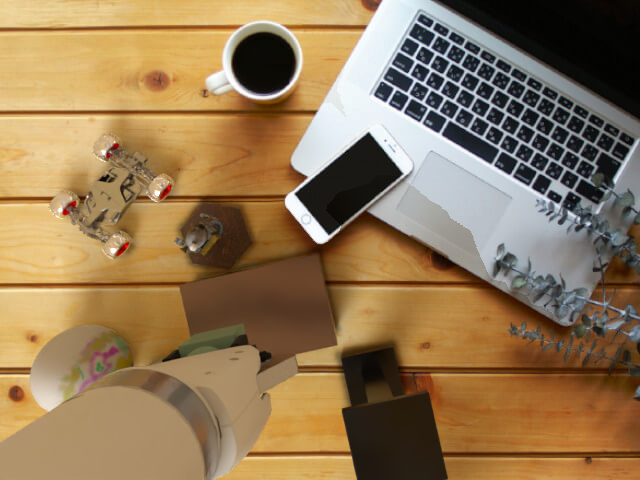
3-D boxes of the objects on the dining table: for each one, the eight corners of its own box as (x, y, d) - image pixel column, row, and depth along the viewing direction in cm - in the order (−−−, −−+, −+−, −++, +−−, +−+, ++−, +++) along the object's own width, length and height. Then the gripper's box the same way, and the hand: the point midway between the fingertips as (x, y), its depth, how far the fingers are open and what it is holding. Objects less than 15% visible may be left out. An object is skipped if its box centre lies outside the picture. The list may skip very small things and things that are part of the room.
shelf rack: (336, 329, 78) (337, 345, 67) (217, 356, 78) (198, 375, 67) (318, 252, 78) (317, 254, 67) (199, 278, 78) (178, 285, 67)
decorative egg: (132, 408, 79) (86, 449, 64) (54, 389, 79) (-10, 424, 64) (151, 330, 79) (110, 352, 64) (73, 310, 79) (14, 327, 64)
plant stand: (408, 399, 78) (448, 479, 52) (349, 412, 78) (360, 498, 52) (395, 340, 78) (429, 392, 52) (336, 353, 78) (341, 411, 52)
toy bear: (253, 368, 45) (236, 399, 36) (204, 379, 45) (175, 412, 36) (243, 323, 45) (224, 343, 36) (193, 334, 45) (162, 357, 36)
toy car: (120, 260, 79) (105, 262, 73) (57, 212, 79) (38, 210, 74) (180, 181, 78) (170, 177, 73) (117, 133, 78) (102, 125, 73)
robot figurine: (217, 187, 78) (198, 178, 66) (265, 227, 78) (253, 225, 66) (170, 243, 78) (142, 244, 66) (217, 283, 78) (197, 291, 66)
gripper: (-30, 574, 24) (124, 427, 42) (330, 497, 24) (328, 383, 42) (-66, 414, 24) (104, 336, 42) (295, 335, 24) (308, 292, 42)
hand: (215, 360), depth 42 cm, fingers closed on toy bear, 4 cm apart
